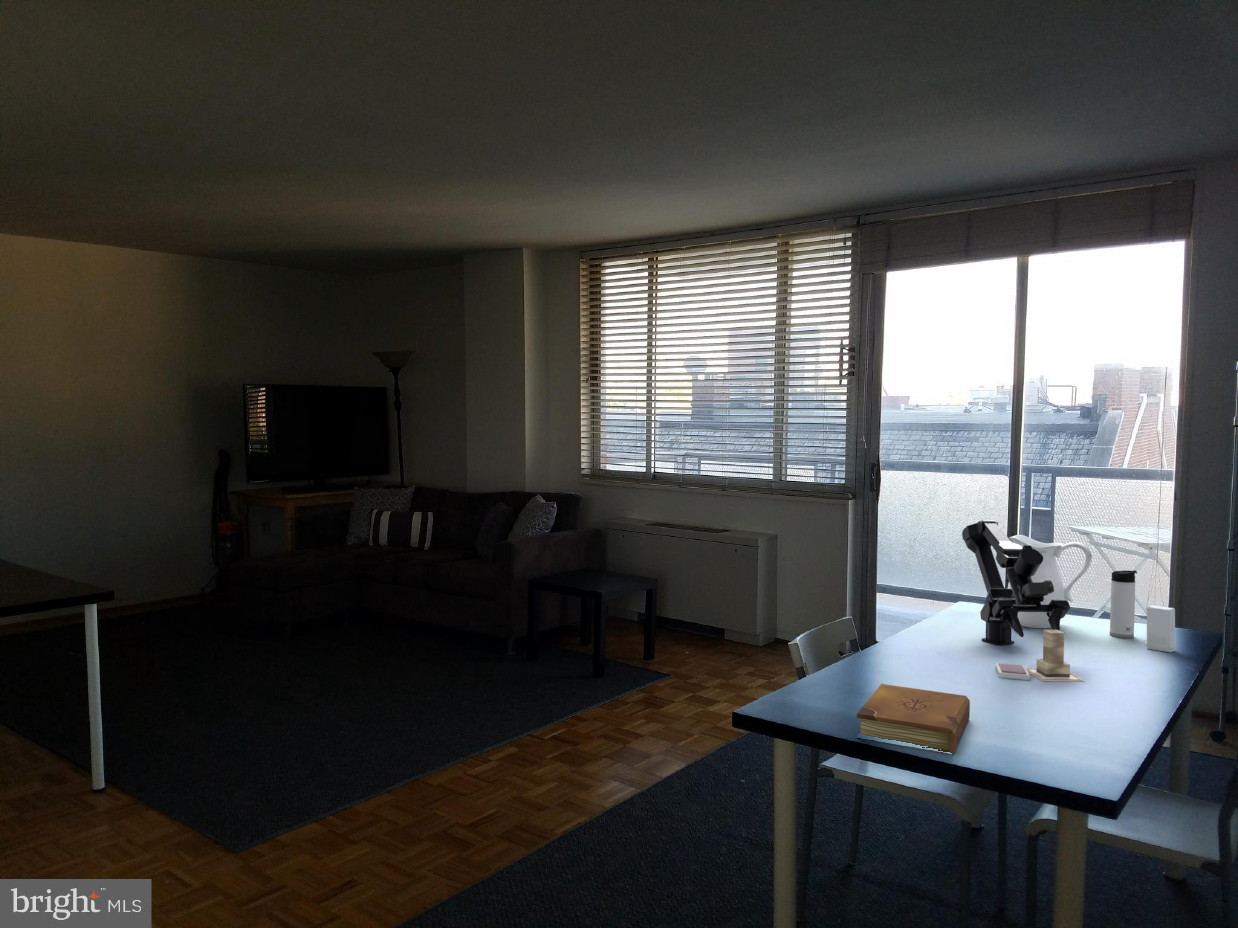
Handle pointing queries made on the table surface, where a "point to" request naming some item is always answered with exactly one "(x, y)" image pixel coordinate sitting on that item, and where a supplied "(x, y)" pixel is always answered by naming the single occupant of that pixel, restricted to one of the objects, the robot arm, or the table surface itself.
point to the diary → (915, 716)
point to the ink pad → (1012, 671)
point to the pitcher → (1049, 576)
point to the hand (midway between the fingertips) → (1040, 636)
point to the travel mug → (1122, 604)
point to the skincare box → (1161, 628)
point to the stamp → (1053, 656)
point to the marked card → (1043, 678)
